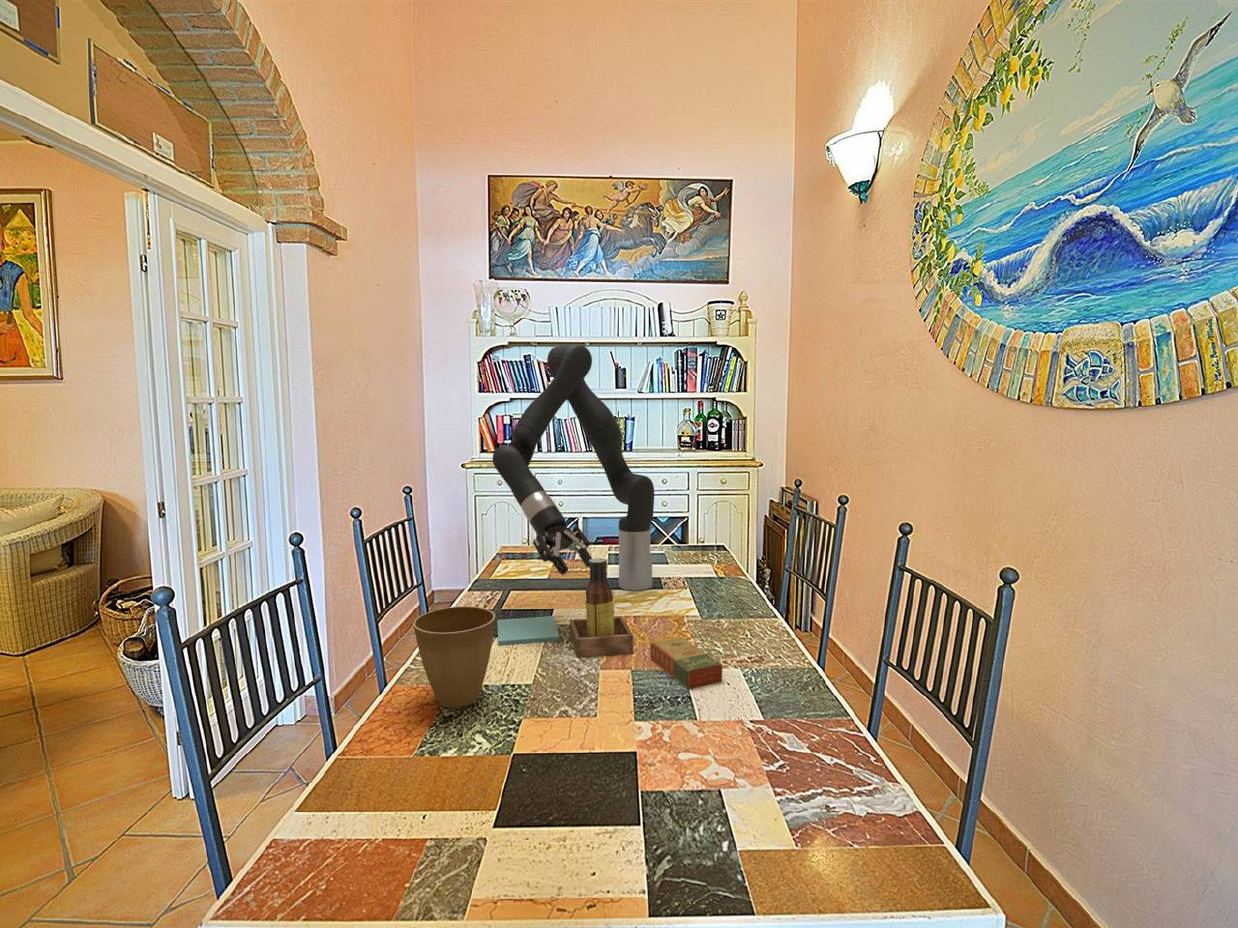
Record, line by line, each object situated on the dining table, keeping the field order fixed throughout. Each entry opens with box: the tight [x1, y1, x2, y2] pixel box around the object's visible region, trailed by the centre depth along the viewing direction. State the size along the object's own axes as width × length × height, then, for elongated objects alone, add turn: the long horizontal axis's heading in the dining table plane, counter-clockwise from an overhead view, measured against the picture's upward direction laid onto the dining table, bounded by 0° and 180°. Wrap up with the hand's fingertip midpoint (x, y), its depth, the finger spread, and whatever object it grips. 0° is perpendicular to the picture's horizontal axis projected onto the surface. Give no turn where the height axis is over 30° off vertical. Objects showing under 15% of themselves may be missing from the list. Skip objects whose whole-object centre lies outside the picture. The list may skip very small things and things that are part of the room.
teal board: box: [497, 615, 560, 646], centre depth 162 cm, size 14×14×1 cm
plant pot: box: [412, 605, 496, 709], centre depth 127 cm, size 15×15×16 cm
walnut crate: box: [569, 615, 634, 658], centre depth 154 cm, size 13×13×4 cm
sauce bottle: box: [585, 557, 616, 638], centre depth 153 cm, size 6×6×20 cm
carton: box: [649, 636, 723, 690], centre depth 140 cm, size 8×16×4 cm, turn 25°
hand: (578, 568), depth 156 cm, fingers open, 8 cm apart
